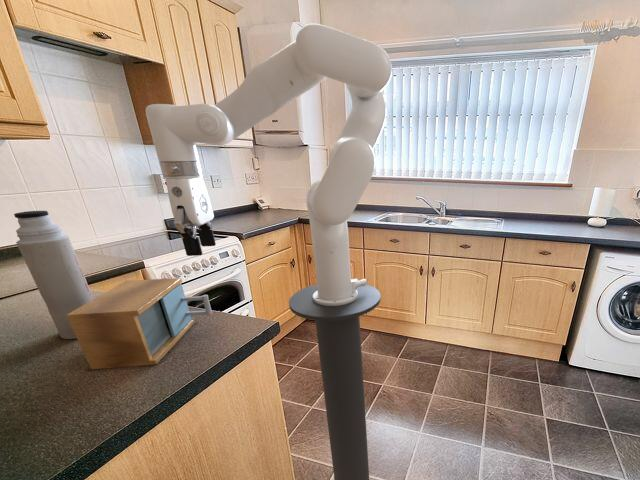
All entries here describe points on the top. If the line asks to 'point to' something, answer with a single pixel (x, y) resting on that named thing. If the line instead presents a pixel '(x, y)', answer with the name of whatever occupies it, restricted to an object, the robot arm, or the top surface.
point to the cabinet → (126, 325)
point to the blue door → (181, 309)
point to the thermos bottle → (53, 267)
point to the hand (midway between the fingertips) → (202, 249)
